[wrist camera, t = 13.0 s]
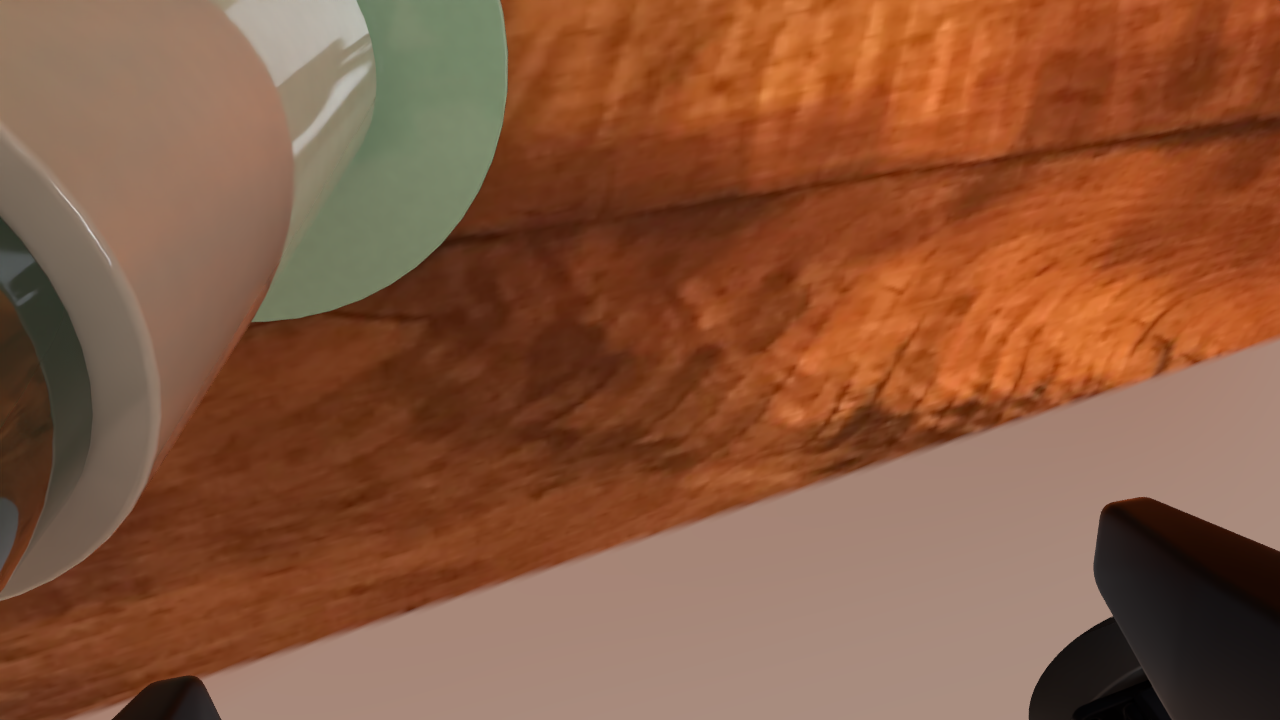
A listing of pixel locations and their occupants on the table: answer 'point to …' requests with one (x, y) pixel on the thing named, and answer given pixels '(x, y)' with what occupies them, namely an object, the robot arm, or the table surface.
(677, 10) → the table surface
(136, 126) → the jar
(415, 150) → the coaster
